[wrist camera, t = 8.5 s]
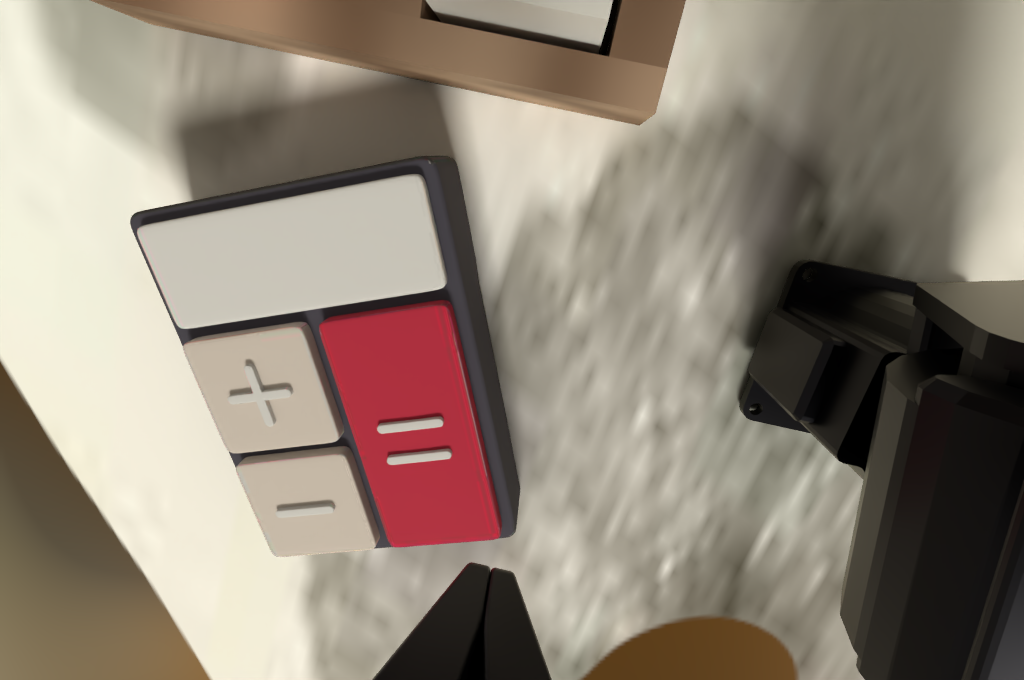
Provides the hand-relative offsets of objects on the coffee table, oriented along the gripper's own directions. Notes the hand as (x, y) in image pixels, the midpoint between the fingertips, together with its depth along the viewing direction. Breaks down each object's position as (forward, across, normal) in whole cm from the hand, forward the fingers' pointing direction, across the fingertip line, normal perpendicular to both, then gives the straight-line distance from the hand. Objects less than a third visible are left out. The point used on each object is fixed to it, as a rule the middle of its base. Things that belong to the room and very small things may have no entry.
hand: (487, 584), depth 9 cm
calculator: (+13, +7, +2) cm, 14 cm away
